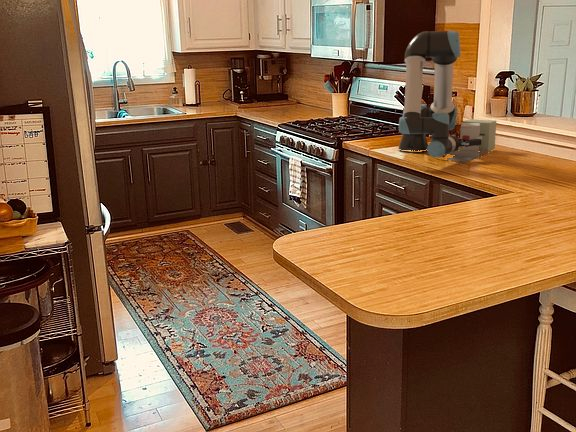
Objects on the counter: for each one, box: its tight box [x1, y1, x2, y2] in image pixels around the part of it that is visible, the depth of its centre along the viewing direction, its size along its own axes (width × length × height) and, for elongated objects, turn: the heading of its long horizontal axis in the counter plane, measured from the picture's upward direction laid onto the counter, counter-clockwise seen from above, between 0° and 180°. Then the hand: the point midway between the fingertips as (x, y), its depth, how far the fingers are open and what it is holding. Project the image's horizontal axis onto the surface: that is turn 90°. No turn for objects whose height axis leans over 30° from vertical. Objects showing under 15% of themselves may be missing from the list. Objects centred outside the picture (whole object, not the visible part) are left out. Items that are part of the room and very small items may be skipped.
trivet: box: [447, 155, 477, 163], centre depth 301 cm, size 14×14×1 cm
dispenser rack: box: [448, 118, 497, 159], centre depth 312 cm, size 24×16×15 cm
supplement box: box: [459, 122, 480, 153], centre depth 309 cm, size 9×9×15 cm
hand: (467, 138), depth 306 cm, fingers open, 13 cm apart
